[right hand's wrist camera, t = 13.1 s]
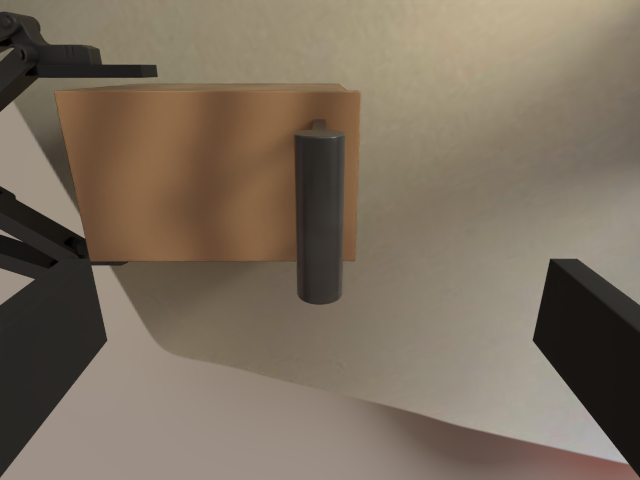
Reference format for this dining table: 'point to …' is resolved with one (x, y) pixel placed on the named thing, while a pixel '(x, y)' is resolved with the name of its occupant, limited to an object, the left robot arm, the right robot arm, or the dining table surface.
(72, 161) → the lid
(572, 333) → the right robot arm
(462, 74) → the dining table surface
